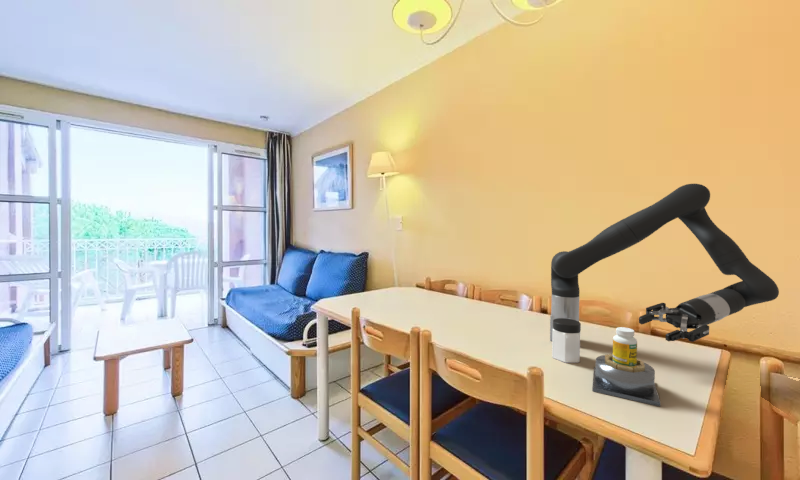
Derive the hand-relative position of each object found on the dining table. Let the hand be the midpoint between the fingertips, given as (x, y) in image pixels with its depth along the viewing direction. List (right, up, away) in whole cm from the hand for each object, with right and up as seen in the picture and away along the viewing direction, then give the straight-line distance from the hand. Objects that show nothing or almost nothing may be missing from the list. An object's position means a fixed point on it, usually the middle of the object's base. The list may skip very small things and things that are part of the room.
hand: (652, 329), depth 93 cm
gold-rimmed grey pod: (-12, -14, -5) cm, 19 cm away
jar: (-18, -13, +14) cm, 26 cm away
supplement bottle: (-12, -8, -5) cm, 15 cm away
